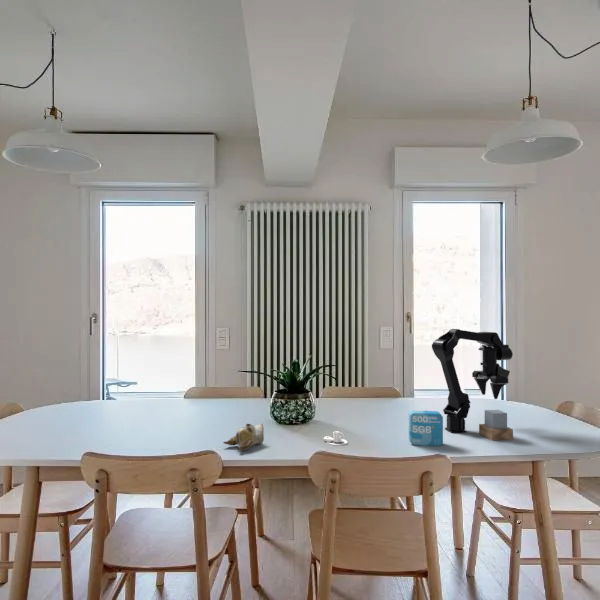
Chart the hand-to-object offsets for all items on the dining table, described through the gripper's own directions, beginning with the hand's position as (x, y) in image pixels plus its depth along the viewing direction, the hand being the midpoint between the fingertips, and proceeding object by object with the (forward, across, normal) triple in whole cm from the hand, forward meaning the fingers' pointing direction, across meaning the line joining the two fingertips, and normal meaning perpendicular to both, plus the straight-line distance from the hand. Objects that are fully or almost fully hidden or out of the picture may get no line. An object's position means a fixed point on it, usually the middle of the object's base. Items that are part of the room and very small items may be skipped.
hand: (489, 396), depth 194 cm
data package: (+13, -19, +38) cm, 44 cm away
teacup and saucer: (+14, -9, +71) cm, 73 cm away
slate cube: (+9, -14, +6) cm, 18 cm away
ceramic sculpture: (+14, -13, +105) cm, 107 cm away
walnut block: (+13, -14, +6) cm, 20 cm away
